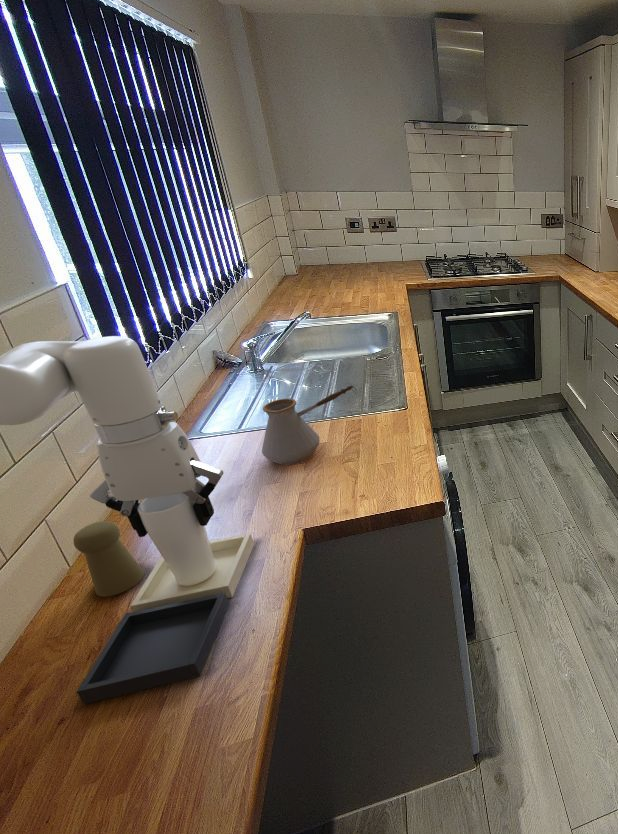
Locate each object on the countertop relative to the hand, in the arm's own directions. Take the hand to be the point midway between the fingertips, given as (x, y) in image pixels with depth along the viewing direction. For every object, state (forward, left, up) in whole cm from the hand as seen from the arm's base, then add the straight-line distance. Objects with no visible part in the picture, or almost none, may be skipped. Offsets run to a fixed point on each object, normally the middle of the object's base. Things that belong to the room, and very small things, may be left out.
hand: (177, 525), depth 81 cm
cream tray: (0, 0, -11) cm, 11 cm away
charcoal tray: (0, -14, -11) cm, 18 cm away
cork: (-12, +3, -11) cm, 17 cm away
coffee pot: (+12, +37, -11) cm, 40 cm away
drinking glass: (0, 0, -10) cm, 10 cm away
